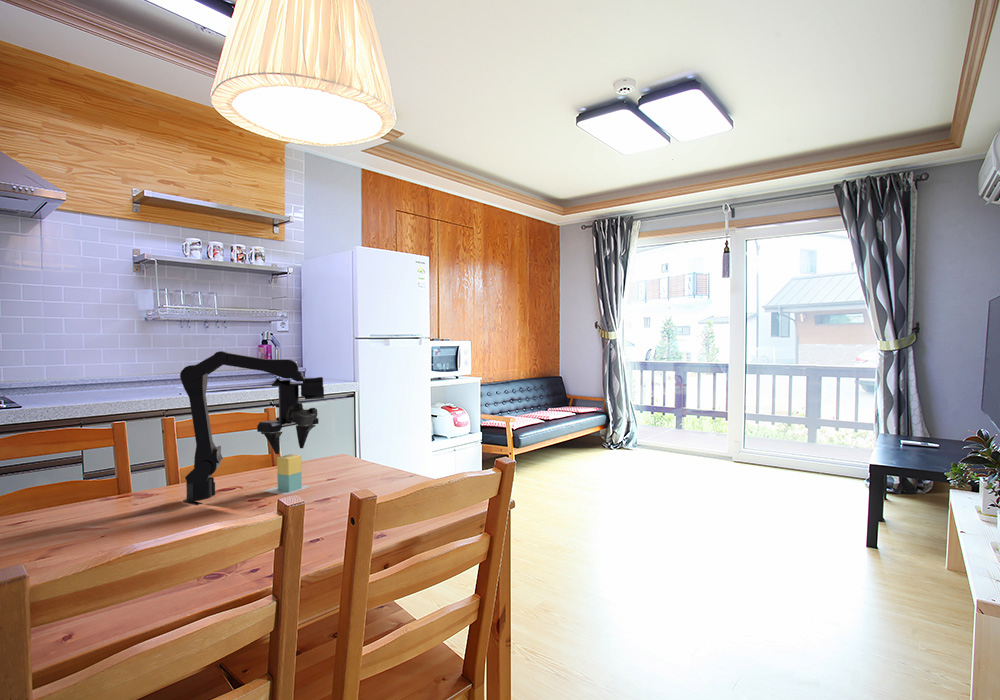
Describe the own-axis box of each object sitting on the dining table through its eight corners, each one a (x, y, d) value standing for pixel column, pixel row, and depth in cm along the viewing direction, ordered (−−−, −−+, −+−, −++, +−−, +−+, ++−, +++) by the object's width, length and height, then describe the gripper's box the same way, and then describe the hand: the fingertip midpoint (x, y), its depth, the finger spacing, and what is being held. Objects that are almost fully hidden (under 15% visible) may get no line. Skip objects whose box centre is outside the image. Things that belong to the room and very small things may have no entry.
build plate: (285, 497, 149) (285, 494, 149) (262, 493, 154) (262, 491, 154) (311, 488, 158) (311, 486, 158) (288, 485, 163) (288, 482, 163)
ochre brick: (288, 475, 152) (288, 458, 152) (277, 473, 154) (277, 457, 154) (301, 471, 156) (301, 455, 156) (290, 470, 158) (289, 454, 158)
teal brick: (289, 491, 152) (288, 475, 152) (277, 490, 154) (277, 473, 154) (301, 487, 157) (301, 471, 157) (290, 486, 159) (290, 470, 159)
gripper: (282, 404, 143) (283, 459, 144) (331, 398, 160) (331, 447, 160) (255, 403, 148) (256, 456, 148) (305, 397, 165) (306, 444, 165)
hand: (289, 451), depth 155 cm, fingers open, 9 cm apart
